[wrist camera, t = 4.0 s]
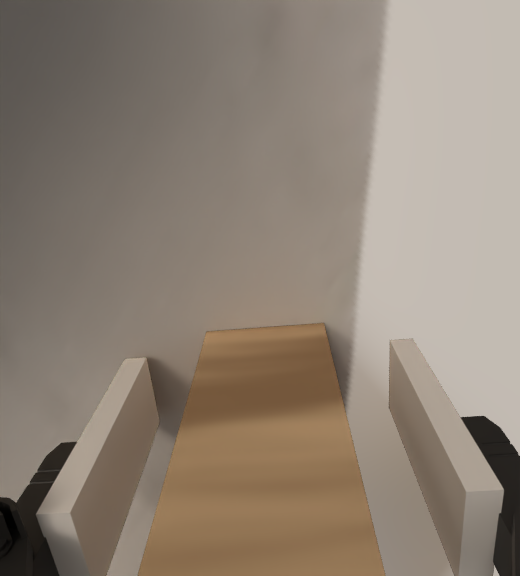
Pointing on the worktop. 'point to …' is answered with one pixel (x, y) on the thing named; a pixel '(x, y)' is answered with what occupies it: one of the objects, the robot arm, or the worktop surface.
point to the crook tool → (263, 466)
